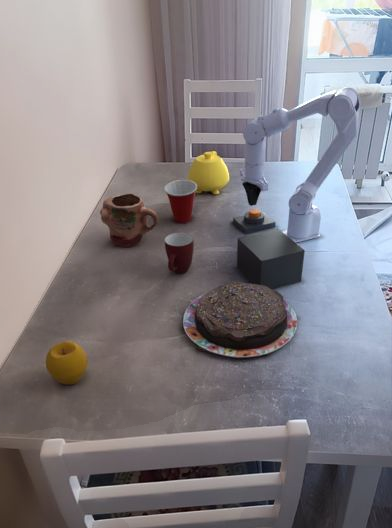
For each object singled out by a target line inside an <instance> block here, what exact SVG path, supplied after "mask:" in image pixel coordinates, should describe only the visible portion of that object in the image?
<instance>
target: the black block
mask: <svg viewBox="0 0 392 528" xmlns="http://www.w3.org/2000/svg"><path fill="white" fill-rule="evenodd" d="M282 231H283V230H281V229H280V228H273V229H269V230H265V231H261V232H257V233H252V234H248V235H244V236H241V237H240V236H239V237H237V239H236V269H237V270H238V271H239V273H241V274H242V276H243V277H244V278H245V279H246V280H247V281H248V282H249V284H258V285H264V286H266V287H268V288H270V289H272V290H275V289H278V288H282V287H286V286H289V285H290V286H291V285H294V284H296V283H300V282H302V276H303V269H304V259H305V252H306V251H305V249H304V248H302V246H300V245H299V244H298V243H295V242H294V241H293V240H292V239H290V238H289V237H288V236H287V235H285V234H284V233H283V232H282Z"/></svg>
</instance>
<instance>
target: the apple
mask: <svg viewBox="0 0 392 528" xmlns="http://www.w3.org/2000/svg"><path fill="white" fill-rule="evenodd" d="M45 367H46V369H47V372H48V374H49V375H50V376H51V377H52V378H53V380H55V381H57V382H58V383H60V384H63V385H67V386H70V385H75V384H77V383H78V382H80V381H81V380H82V378H83V376H84V375H85V373H86V371H87V368H88V356H87V355H86V352H85V351H84V349H83V348H82V346H80V344H78V343H77V342H75V341H70V340H66V341H62V342H58V343H56V344H55V345H54V346H52V347H51V348H50V349H49V350H48V352H47V353H46V356H45Z"/></svg>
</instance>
